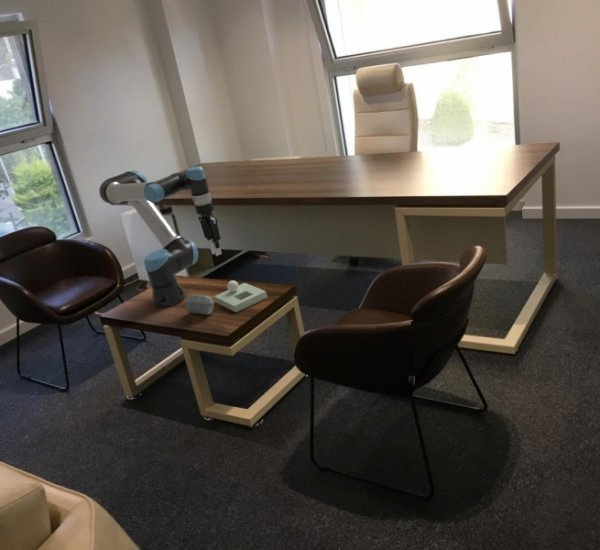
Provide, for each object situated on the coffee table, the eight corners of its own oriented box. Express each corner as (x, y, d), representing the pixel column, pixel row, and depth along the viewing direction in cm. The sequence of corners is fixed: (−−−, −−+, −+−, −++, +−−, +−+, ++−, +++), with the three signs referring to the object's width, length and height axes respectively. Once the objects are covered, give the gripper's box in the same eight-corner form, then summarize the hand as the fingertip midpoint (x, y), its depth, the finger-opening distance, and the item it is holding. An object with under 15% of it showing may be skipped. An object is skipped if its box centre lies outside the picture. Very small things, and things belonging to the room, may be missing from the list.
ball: (226, 292, 262) (223, 282, 261) (236, 288, 265) (233, 277, 263) (232, 294, 258) (229, 284, 257) (241, 290, 261) (239, 280, 259)
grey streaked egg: (177, 310, 254) (184, 288, 252) (193, 310, 261) (199, 289, 260) (199, 322, 246) (206, 299, 245) (215, 321, 254) (221, 299, 252)
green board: (215, 302, 262) (214, 296, 261) (246, 288, 270) (244, 282, 269) (236, 312, 248) (234, 306, 247) (267, 297, 256) (265, 291, 254)
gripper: (187, 204, 257) (201, 254, 266) (204, 207, 245) (218, 260, 253) (202, 198, 261) (215, 248, 270) (219, 202, 248) (233, 254, 257)
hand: (216, 253), depth 262 cm, fingers open, 3 cm apart
